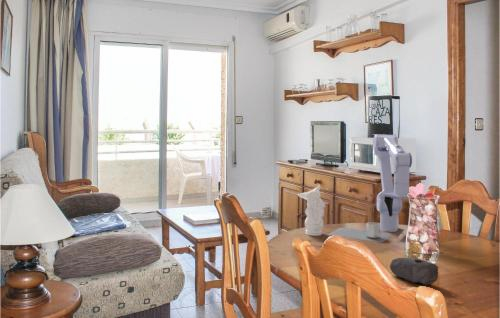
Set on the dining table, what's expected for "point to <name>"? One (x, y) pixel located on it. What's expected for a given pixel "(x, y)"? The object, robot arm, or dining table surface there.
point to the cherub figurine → (313, 211)
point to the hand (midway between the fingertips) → (400, 217)
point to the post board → (359, 234)
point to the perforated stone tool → (415, 270)
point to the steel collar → (373, 229)
